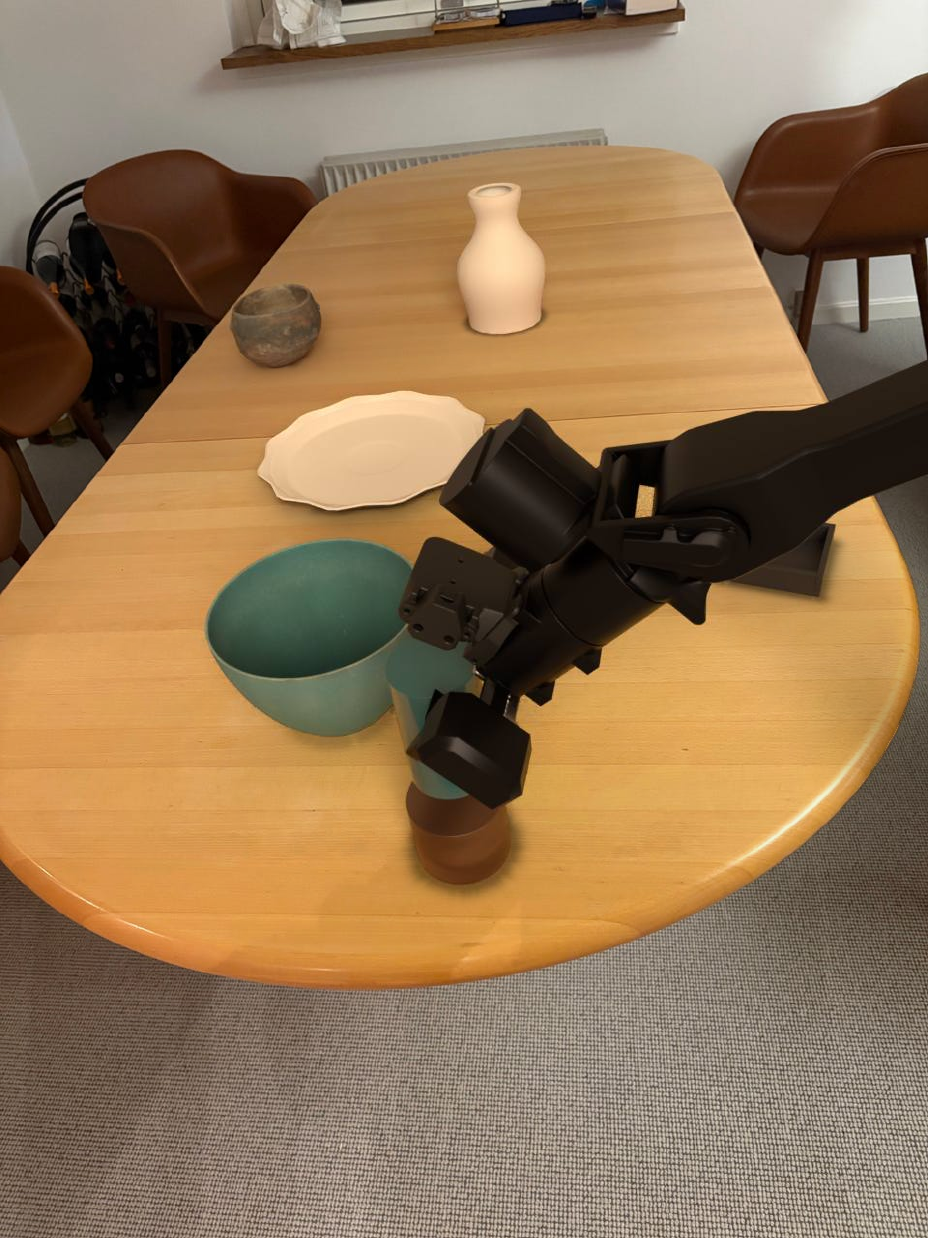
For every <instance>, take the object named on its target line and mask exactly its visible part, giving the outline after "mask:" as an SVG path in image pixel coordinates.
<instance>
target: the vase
mask: <svg viewBox="0 0 928 1238" xmlns="http://www.w3.org/2000/svg"><path fill="white" fill-rule="evenodd" d="M466 196H467V202H468V205H469V207H470V210H471V212H472V215H473V217H474V230H473V232H472V236H471V237H470V239H469V241H468V242H467V244H466V246H465V247H464V249H463V251H462V252H461V254H460V256H459V259H458V261H457V265H456V281H457V285H458V290H459V292H460V295H461V298H462V301H463V304H464V307H465V310H466V313H467V317H468V324H469V326H470V328H471V329H472V330H474V331H477V332H478V333H483V334H489V335H507V334H511V333H512V334H513V333H517V332H522V331H525V330H526V329H529V328H531V327H534V326H535V325H536V324H537V323H539V322H540V321H541V318H542V303H543V296H544V290H545V285H546V278H547V277H546V276H547V265H546V259H545V256H544V254H543V252H542V250H541V248H540V247H539V245H537V243H536V242H535V241H534V239H532V238H531V237H530V236H529V234H528V233H526V231H525V230H524V228H523V227H522V226H521V223H520V220H519V208H520V205H521V204H520V203H521V200H522V188H521V186H520V185H518V184H517V183H512V182H493V183H488V184H482V185H480V186H476V187H473V188H472V189H470V190H469V191H468V193H467V195H466Z"/></svg>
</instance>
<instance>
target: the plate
mask: <svg viewBox="0 0 928 1238" xmlns="http://www.w3.org/2000/svg"><path fill="white" fill-rule="evenodd" d="M485 424H486V419H485V417H483V415H481V414H480V413H478V412H475V411H473V410H471V409H469V408H467V407H466V406H465V405H464V404H462V403H461V402H460V400H459V399H457V398H456V397H451V396H447V395H446V396H445V395H432V394H425V393H420V392H417V391H412V390H398V391H397V390H396V391H392V392H387V393H381V394H369V395H355V396H351V397H347V398H344V399H342V400H339V401H337V402H335V403H333V404H331V405H329V406H326V407H322V408H319V409H316V410H312V411H309V412H305V413H304V414H302V415H300V416H299V417H297V418H296V419H295V420H294V421H293V422H292V423H291V424H290V425H289V426H288V427H287V428H286V429H284V430H283V431H281V432H280V433H278V434H276V435H274V436H273V437H272V438H270V439H269V440H268V441H267V442H266V443H265V444H264V457H263V459H262V461H261V463H260V465H259V466H258V467H257V470H256V471H257V476H258V477H259V478H260V479H262V480H263V481H264V482H265V483H267V484H268V485H270V486H271V489H272V490H273V493H274V494H275V496H276V498H277V499H279V500H281V501H283V502H286V503H287V502H288V503H297V504H304V505H309V506H312V507H315V508H317V509H320V510H323V511H326V512H335V513H336V512H337V513H338V512H343V511H350V510H351V511H353V510H355V511H356V510H372V509H378V508H384V507H385V508H386V507H393V506H397V505H401V504H404V503H406V502H408V501H409V500H413V499H416V498H419V497H421V496H423V495H425V494H427V493H430V492H433V491H435V490H437V489H439V488H443V487H445V485H446V483H447V481H448V480H449V478H450V477H451V475H452V473H453V472H454V470H455V469H456V467H457V466H458V465H459V463H460V462H461V460H462V459H463V458H464V457H465V455H466V454H467V453H468V451H469V450H470V449H471V448H472V447H473V445H474V444H475V443H476V442H477V441H478V440H479V439H480V437H481V436H482V435H483V434H484V429H485Z"/></svg>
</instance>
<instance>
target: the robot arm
mask: <svg viewBox="0 0 928 1238" xmlns="http://www.w3.org/2000/svg"><path fill="white" fill-rule="evenodd" d="M927 476H928V358H927V359H925V360H923V361H920V362H919V363H916V364H914V365H913V364H912V365H911V366H909V367H907V368H904V369H902V370H899V371H897V372H895V373H892V374H890V375H888V376H885V377H883V378H881V379H878V380H876V381H874V382H872V383H871V382H870V383H869V384H867V385H864V386H862V387H860V388H858V389H857V388H856V389H855V390H852V391H851V392H847V393H846V394H843V395H841V396H839V397H836V398H834V399H832V400H829V401H827V402H824V403H820V404H816V405H813V406H809V407H806V408H802V409H795V410H794V409H793V410H792V409H790V410H789V409H788V410H786V409H785V410H752V411H749V412H744V413H741V414H737V415H734V416H730V417H726V418H723V419H718V420H715V421H712V422H709V423H704V424H702V425H698V426H695V427H692V428H689V429H687V430H685V431H683V432H682V433H680V434H679V435H677V436H675V437H674V438H672V439H664V440H655V441H649V442H640V443H632V444H623V445H616V446H608V447H605V448H603V450H602V451H601V455H600V460H599V465H597V467H595V466H594V465H593V464H592V463H591V462H589V461H588V460H587V459H586V458H585V457H583V456H582V455H581V454H580V453H579V452H578V451H576V450H575V449H574V448H573V447H572V446H570V445H569V444H568V443H567V442H566V441H564V440H563V439H562V438H561V437H560V436H559V435H558V434H557V433H556V432H555V431H554V429H553V428H552V427H551V425H550V424H549V422H547V421H546V420H545V419H544V418H543V417H542V416H541V415H540V414H538V413H537V412H536V411H535V410H533V408H531V407H525V408H524V409H523V410H521V412H520V413H519V414H518V415H517V416H516V417H514V419H512V418H507V419H505V420H504V421H502V422H500V423H499V424H498V425H497V426H495V427H494V428H493V427H492V426H491V427H488V428H487V430H486V431H485V432H483V435H482V436H481V437H480V439H479V440H478V441H477V442H476V443H475V444H474V445H473V447H472V448H471V449H470V450H469V451H468V453H467V454H466V455H465V457H464V458H463V459H462V460H461V462H460V463H459V465H458V466H457V467H456V469H455V470H454V472H453V473H452V475H451V477H450V478H449V480H448V481H447V483H446V485H445V486H443V488H442V490H441V493H440V496H439V499H438V503H439V505H440V506H441V507H443V508H444V509H445V510H446V511H447V512H448V513H450V514H451V515H453V516H454V517H455V518H456V519H458V520H459V521H460V522H462V523H463V524H464V525H465V526H467V527H468V528H469V529H470V530H472V531H473V532H475V533H476V534H477V535H479V537H481V538H482V539H483V540H485V541H486V542H487V543H489V544H490V545H491V547H490V549H488V550H486V551H487V552H486V551H485V552H486V553H485V554H483V552H482V553H481V552H479V551H477V550H475V549H472V548H469V547H466V546H464V545H461V544H459V543H457V542H454V541H451V540H449V539H446V538H443V537H441V536H431V537H428V538H426V539H425V540H424V542H423V544H422V546H421V548H420V551H419V553H418V555H417V558H416V560H415V562H414V564H413V566H414V567H413V569H412V572H411V575H410V577H409V580H408V583H407V585H406V588H405V591H404V594H403V596H402V599H401V602H400V605H399V607H398V614H399V617H400V618H401V619H402V620H403V621H404V622H405V623H407V624H409V625H408V628H407V630H408V632H409V634H410V635H411V637H413V638H414V639H417V640H419V641H422V642H424V643H427V644H430V645H432V646H435V647H437V648H440V649H442V650H452V649H455V648H456V646H457V644H458V642H459V641H460V642H470V643H469V644H468V645H466V646H465V650H464V653H463V656H462V657H464V658H465V659H466V660H468V661H469V662H471V663H472V664H473V665H474V667H473V674H474V675H475V676H476V677H478V678H479V679H480V680H482V685H483V686H482V690H481V693H480V697H479V698H478V697H477V696H475V695H474V694H473V693H467V692H453V691H449V692H448V693H447V694H445V695H444V694H442V693H441V692H440V691H438V690H437V689H435V690H434V692H433V695H432V698H431V701H430V704H429V707H428V710H427V713H426V716H425V720H424V727H423V730H422V731H421V732H420V733H419V734H418V736H417V737H416V738H415V739H414V740H413V741H412V743H411V744H410V745H409V746H408V748H407V750H406V754H407V755H408V756H410V757H411V758H413V759H414V760H416V761H421V763H423V764H424V765H426V766H427V767H429V768H430V769H432V770H433V771H435V772H436V773H438V774H439V775H441V776H442V777H444V778H445V779H447V780H448V781H450V782H451V783H453V784H454V785H456V786H457V787H459V788H460V789H462V790H463V791H465V792H466V793H468V794H469V795H471V796H472V797H474V798H475V799H477V800H478V801H480V802H481V803H483V804H484V805H486V806H487V807H489V808H490V809H492V810H494V809H497V808H500V807H503V806H504V805H506V806H507V805H508V804H509V803H512V802H513V801H515V800H517V799H518V798H520V797H521V796H523V794H524V788H525V784H526V779H527V775H528V770H529V765H530V761H531V756H532V751H533V747H532V738H531V737H532V736H531V734H530V733H529V732H528V731H527V730H525V729H523V728H522V727H521V726H520V725H519V723H518V722H517V720H516V719H517V715H518V711H519V707H520V702H521V698H522V697H523V696H525V697H527V698H528V699H529V700H531V701H532V702H534V704H536V705H538V706H539V707H543V706H544V705H546V704H547V703H549V702H550V701H552V700H553V695H554V690H555V686H556V681H557V680H558V679H559V678H561V677H562V676H564V675H566V674H567V673H568V672H569V671H571V670H572V669H574V668H575V667H576V669H578V670H580V671H581V672H582V673H583V674H584V675H586V676H589V675H590V674H592V673H593V672H594V671H597V669H599V668H600V665H601V662H602V661H601V660H602V654H603V649H604V647H606V646H607V645H609V644H610V643H611V642H613V641H614V640H616V639H617V638H619V637H620V636H622V635H623V634H625V633H626V632H627V631H629V630H630V629H632V628H633V627H635V626H636V625H638V624H639V623H640V622H642V621H643V620H645V619H646V618H648V617H649V616H651V615H652V614H653V613H655V612H657V611H658V610H659V609H660V608H662V607H663V606H665V605H666V604H668V605H669V606H671V607H672V608H673V609H675V610H676V611H677V612H678V613H680V614H681V616H683V617H684V618H686V619H687V620H688V621H689V622H690V623H692V624H693V625H695V626H702V625H704V624H705V623H706V621H707V596H708V594H709V590H710V589H711V586H712V584H720V583H724V582H730V580H734V579H737V578H739V577H742V576H744V575H746V574H748V573H750V572H752V571H754V570H756V569H758V568H760V567H762V566H764V565H766V564H767V563H769V562H771V561H773V560H775V559H777V558H779V557H781V556H783V555H785V554H787V553H789V552H791V551H793V550H795V549H796V548H798V547H799V546H800V545H801V544H802V543H804V542H805V541H806V540H807V539H808V538H809V537H810V536H811V535H812V534H813V533H814V532H816V531H817V530H818V529H819V528H820V527H821V526H822V525H823V524H824V523H827V522H828V521H829V520H831V518H832V517H833V516H834V515H836V514H838V513H839V512H841V511H842V510H845V509H846V508H848V507H850V506H853V505H854V504H856V503H858V502H860V501H862V500H865V499H867V498H870V497H873V496H877V495H878V494H881V493H884V492H887V491H889V490H892V489H895V488H898V487H900V486H904V485H906V484H908V483H911V482H915V481H917V480H920V479H922V478H925V477H927ZM640 486H643V487H648V488H654V489H653V495H652V507H651V515H650V516H649V515H648V516H638V517H636V516H637V508H638V501H639V492H640ZM406 754H405V755H406Z"/></svg>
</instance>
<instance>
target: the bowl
mask: <svg viewBox="0 0 928 1238" xmlns="http://www.w3.org/2000/svg"><path fill="white" fill-rule="evenodd" d="M320 310H321V306H320V304H319V302H317V301H316V300H315V297H314V295H313V293H312V291H311V290H310V289H309V288H308V287H306V286H304V285H301V284H294V283H287V284H277V285H275V286H266V287H265V286H264V287H261V288H259V289H256V290H253V291H250V292H249V293H247V294H246V295H244V296H242V297H241V298H239V300H238V301H236V302H235V304H234V305H233V308H232V311H231V319H230V324H229V331H230V332H231V333H232V336H233V339H234V342H235V344H236V346H237V349H238V350H239V352H240V354H241V355H243V356H244V357H245V358H246V359H248V360H250V361H252V362H254V363H256V364H259V365H261V366H264V367H269V368H281V367H284V366H287V365H290V364H293V363H294V362H296V361H298V360H299V359H302V358H303V357H305V356H306V355H307V354H308V353H309V352H310V350H311V349H312V348H313V346H314V344H315V343H316V341H317V340H318V337H319V335H320V333H321V328H322V315H321V311H320Z"/></svg>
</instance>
